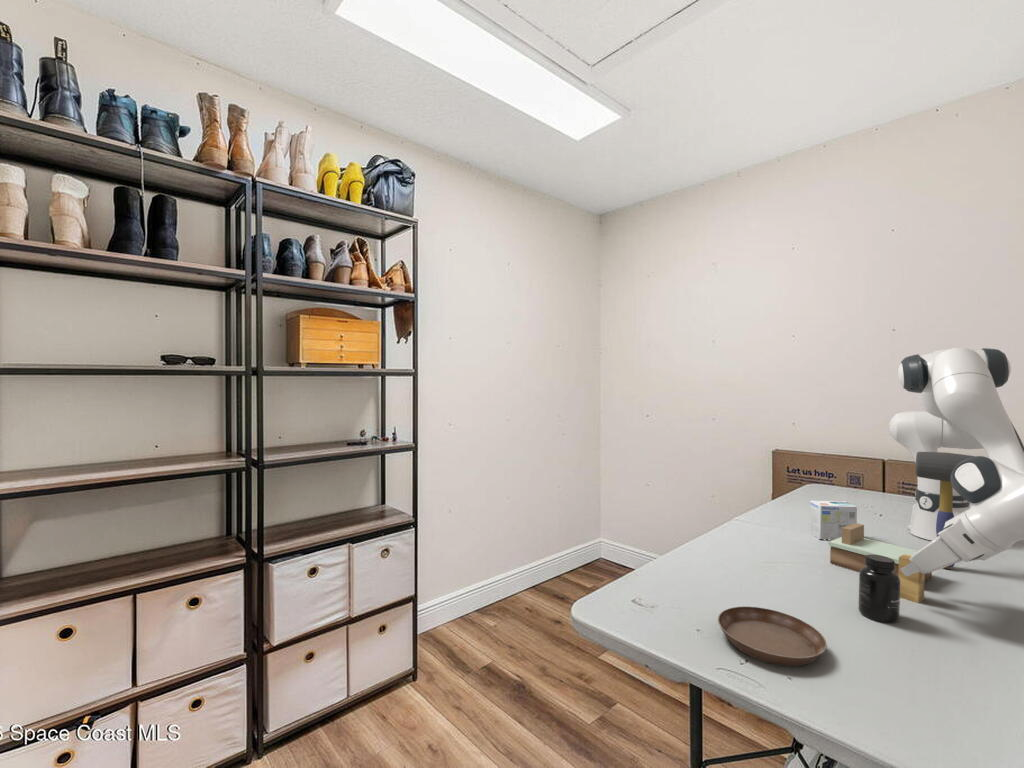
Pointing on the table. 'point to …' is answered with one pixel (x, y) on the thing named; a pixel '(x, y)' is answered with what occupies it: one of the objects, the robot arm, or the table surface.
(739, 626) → the plant saucer
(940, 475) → the rubber mallet
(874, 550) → the lid
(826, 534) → the light bulb box
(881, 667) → the table surface
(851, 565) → the wooden box base
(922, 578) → the light wooden block
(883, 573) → the supplement bottle
